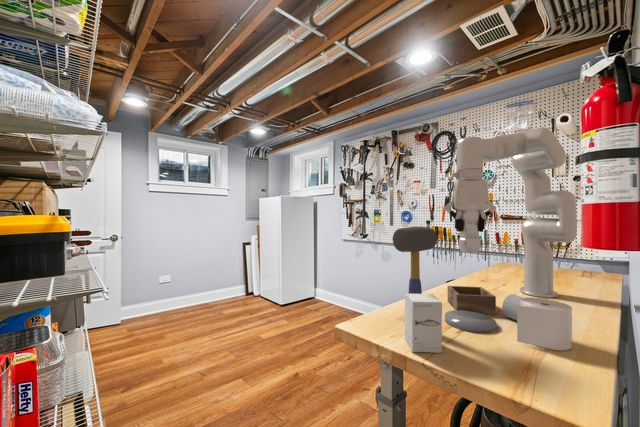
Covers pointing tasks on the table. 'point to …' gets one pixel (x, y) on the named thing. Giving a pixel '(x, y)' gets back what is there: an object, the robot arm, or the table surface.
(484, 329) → the plate
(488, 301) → the holder
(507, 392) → the table surface
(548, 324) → the toilet tissue
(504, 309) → the ceramic mug
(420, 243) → the rubber mallet
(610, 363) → the table surface
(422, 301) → the supplement box
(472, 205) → the plastic bottle
